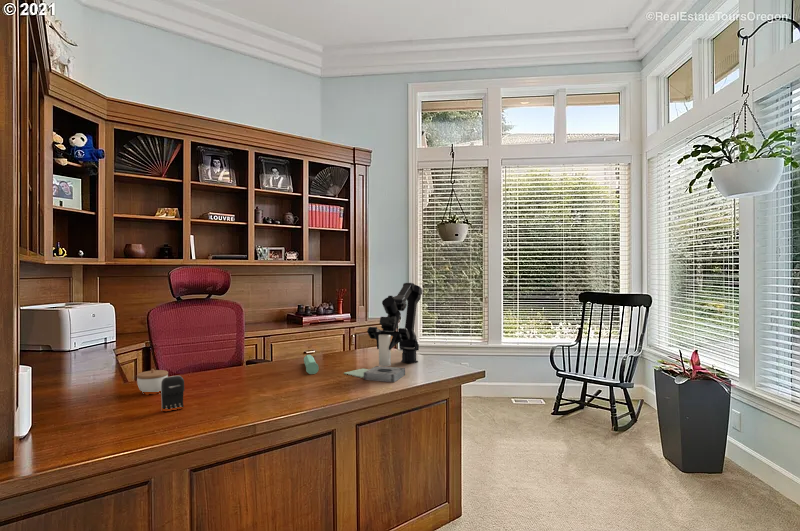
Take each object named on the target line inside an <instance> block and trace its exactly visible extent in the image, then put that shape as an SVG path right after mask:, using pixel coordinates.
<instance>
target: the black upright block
mask: <svg viewBox="0 0 800 531" xmlns="http://www.w3.org/2000/svg"><path fill="white" fill-rule="evenodd" d="M184 392H185V380H184V378H183V376H182V375H172V376H168V377H165V378H163V379H162V381H161V393H160V396H161V397H160V398H161V409H162V408H163V409H165V408H166V409H170V408H171V409H172V408H177V407H183V408H184Z"/></svg>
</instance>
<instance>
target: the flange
mask: <svg viewBox="0 0 800 531" xmlns="http://www.w3.org/2000/svg"><path fill="white" fill-rule="evenodd" d="M405 375H406V368H405V367H392V366H380V365H376V366H374V367H372V368H370V369H369V370H368V371H366V372H364V378H363V380H365V381H377V382H389V383H395V382H397V381H398V380H400V379H401V378H403V377H404V376H405Z"/></svg>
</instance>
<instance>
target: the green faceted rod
mask: <svg viewBox="0 0 800 531" xmlns="http://www.w3.org/2000/svg"><path fill="white" fill-rule="evenodd" d="M303 363H304V366H305V371H306V373H307V374H309V375H315V374H317V373H318V372H319V369H320V368H319V365H318V363H316V360H315V358H314V356H313V355H311V354H306V355H305V356H304V357H303Z"/></svg>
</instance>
